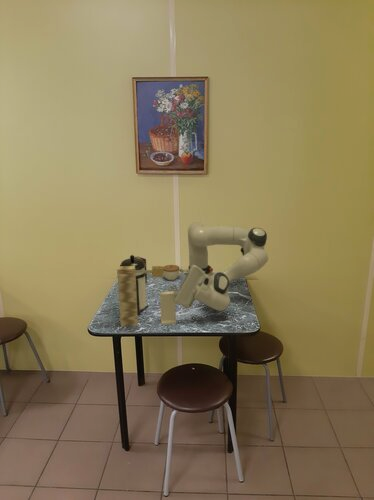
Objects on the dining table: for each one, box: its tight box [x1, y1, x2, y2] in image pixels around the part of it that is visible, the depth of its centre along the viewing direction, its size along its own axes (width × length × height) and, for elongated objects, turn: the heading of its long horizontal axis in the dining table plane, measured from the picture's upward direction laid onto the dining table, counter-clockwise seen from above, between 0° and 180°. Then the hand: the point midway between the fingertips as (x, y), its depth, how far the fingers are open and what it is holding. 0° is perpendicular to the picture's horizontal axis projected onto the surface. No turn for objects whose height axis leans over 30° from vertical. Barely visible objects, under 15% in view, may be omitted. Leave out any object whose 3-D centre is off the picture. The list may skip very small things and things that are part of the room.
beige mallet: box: [135, 265, 164, 278], centre depth 167 cm, size 18×4×4 cm, turn 97°
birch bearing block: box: [116, 266, 139, 327], centre depth 169 cm, size 8×6×28 cm
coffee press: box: [119, 254, 149, 316], centre depth 182 cm, size 17×16×30 cm
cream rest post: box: [159, 290, 177, 326], centre depth 174 cm, size 7×8×15 cm
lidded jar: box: [163, 264, 180, 281], centre depth 229 cm, size 11×11×9 cm
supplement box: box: [134, 255, 148, 283], centre depth 223 cm, size 9×5×16 cm, turn 44°
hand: (175, 278), depth 169 cm, fingers open, 8 cm apart
